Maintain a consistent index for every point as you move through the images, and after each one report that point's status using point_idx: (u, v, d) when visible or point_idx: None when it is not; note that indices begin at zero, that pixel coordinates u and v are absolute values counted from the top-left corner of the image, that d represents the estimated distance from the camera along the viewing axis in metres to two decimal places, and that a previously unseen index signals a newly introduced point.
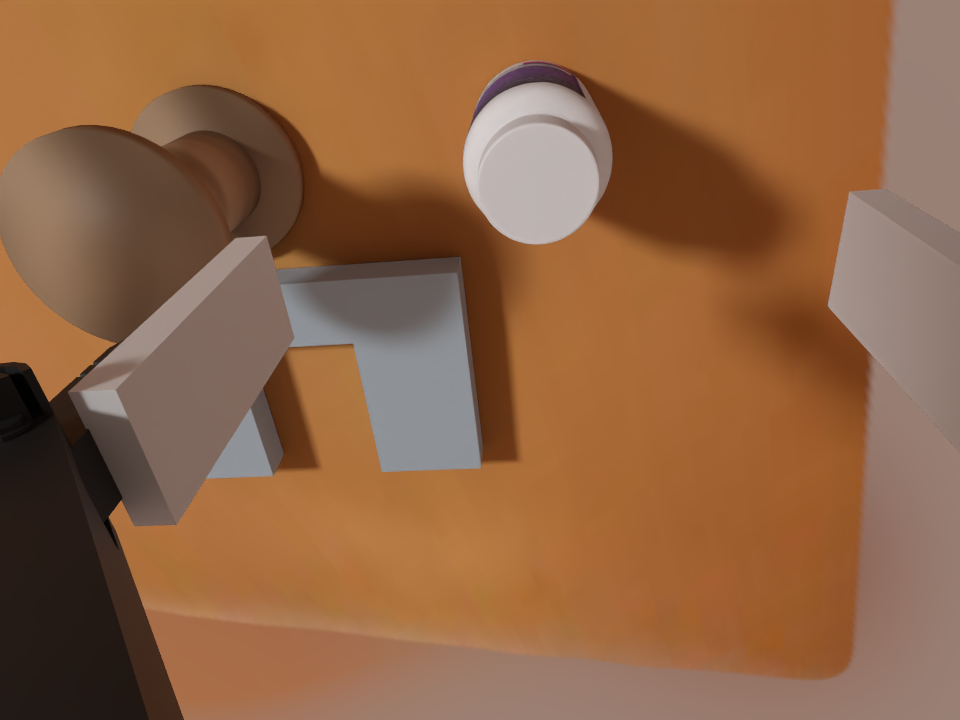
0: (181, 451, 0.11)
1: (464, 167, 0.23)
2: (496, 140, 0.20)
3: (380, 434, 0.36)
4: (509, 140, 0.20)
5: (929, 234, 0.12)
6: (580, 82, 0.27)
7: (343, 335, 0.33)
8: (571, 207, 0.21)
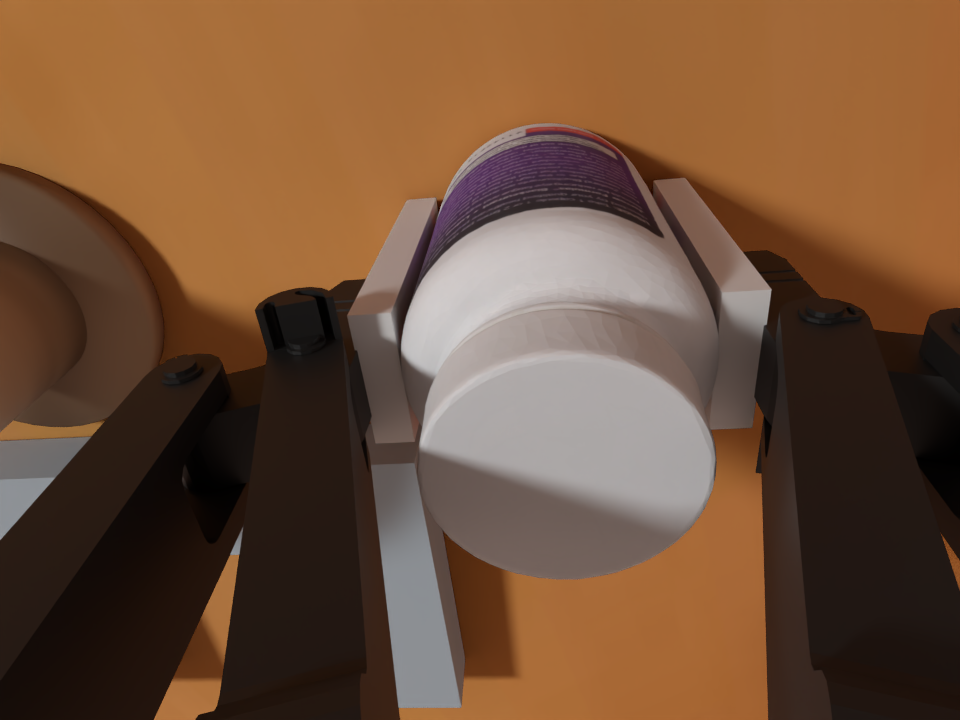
0: None
1: (403, 375, 0.11)
2: (460, 386, 0.08)
3: None
4: (493, 389, 0.08)
5: (687, 214, 0.14)
6: (632, 169, 0.14)
7: (239, 543, 0.21)
8: (642, 519, 0.09)
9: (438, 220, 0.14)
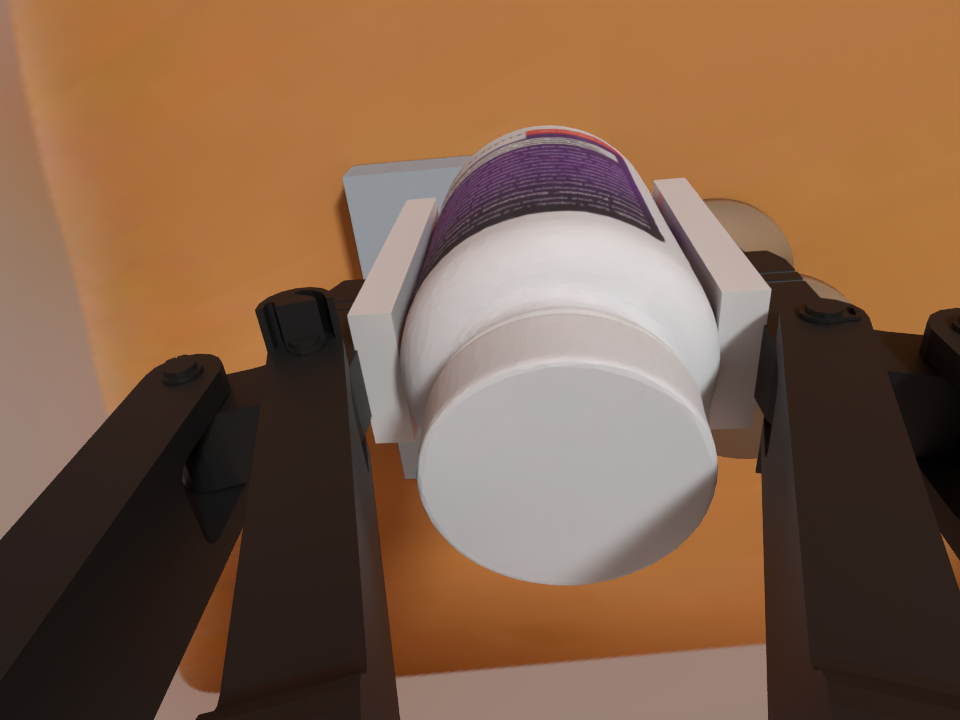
0: None
1: (402, 379, 0.11)
2: (460, 392, 0.08)
3: None
4: (494, 395, 0.08)
5: (687, 214, 0.14)
6: (633, 171, 0.14)
7: None
8: (643, 526, 0.09)
9: (438, 223, 0.14)
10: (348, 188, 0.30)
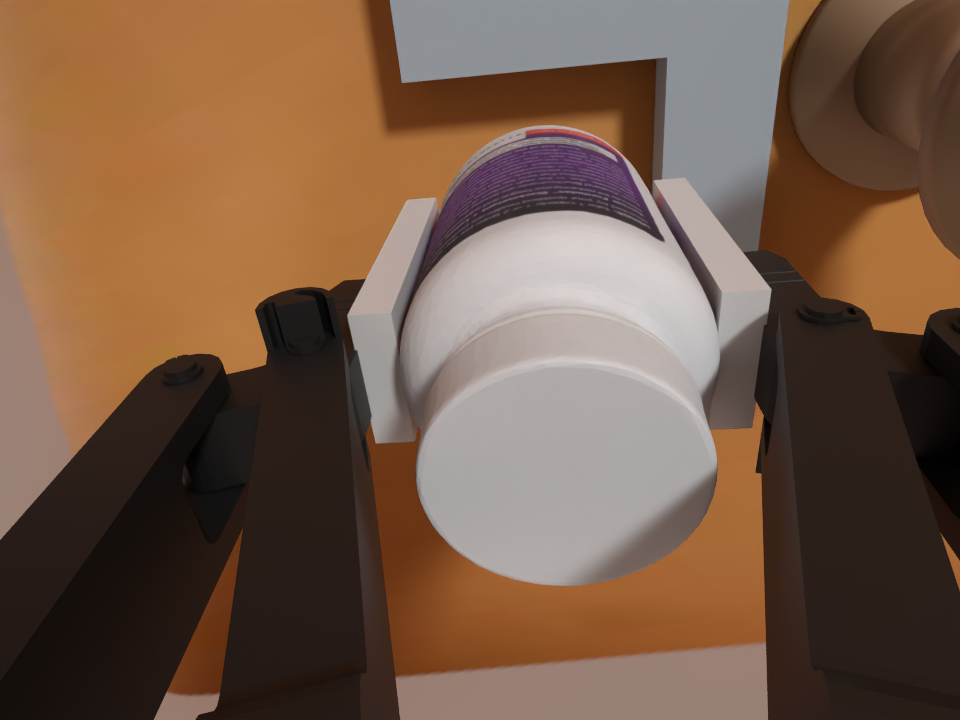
0: None
1: (402, 379, 0.11)
2: (459, 392, 0.08)
3: None
4: (492, 395, 0.08)
5: (687, 214, 0.14)
6: (633, 171, 0.14)
7: None
8: (643, 526, 0.09)
9: (437, 223, 0.14)
10: None
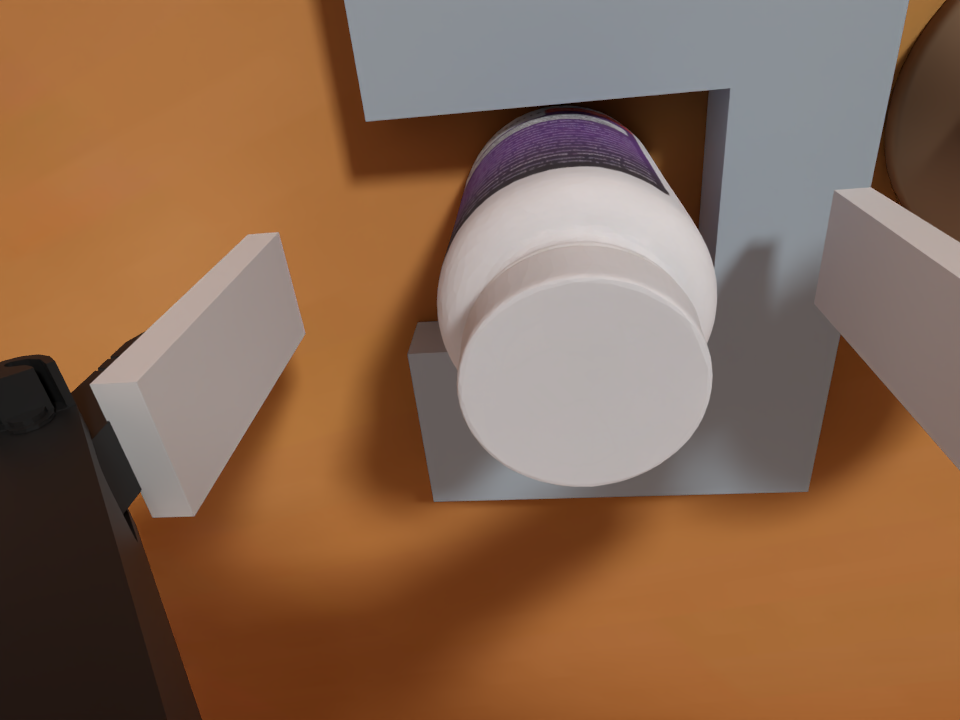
0: (198, 444, 0.11)
1: (439, 316, 0.13)
2: (497, 306, 0.10)
3: None
4: (524, 308, 0.09)
5: (909, 231, 0.12)
6: (641, 145, 0.16)
7: (727, 324, 0.18)
8: (649, 429, 0.10)
9: (466, 189, 0.15)
10: None
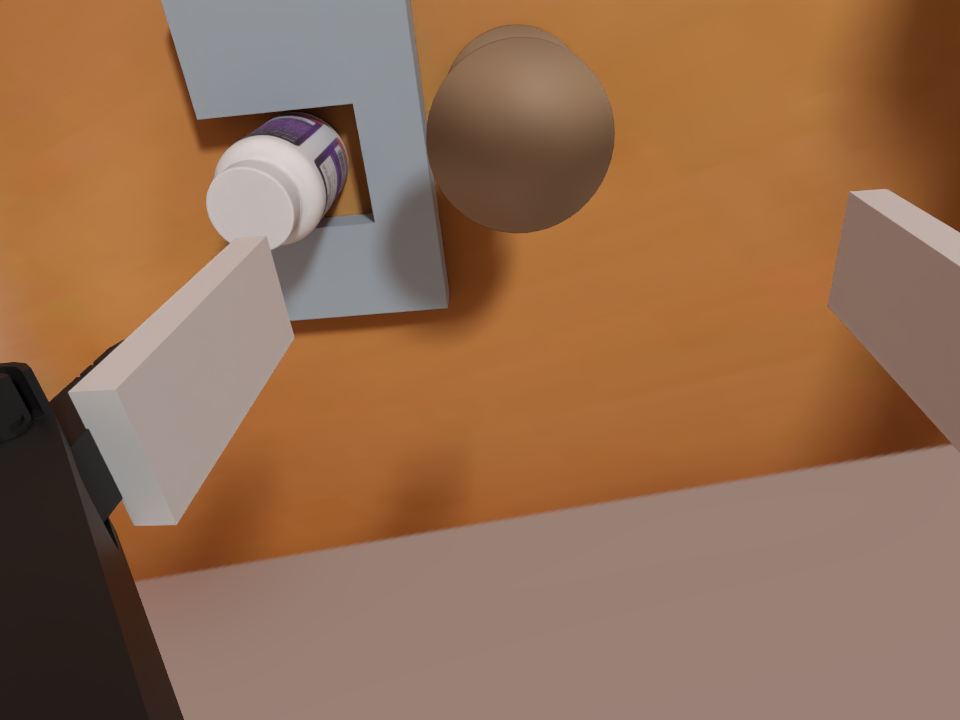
0: (181, 451, 0.11)
1: None
2: (214, 179, 0.29)
3: None
4: (222, 179, 0.29)
5: (929, 234, 0.12)
6: (323, 129, 0.35)
7: (382, 215, 0.37)
8: (276, 225, 0.30)
9: None
10: (167, 9, 0.32)
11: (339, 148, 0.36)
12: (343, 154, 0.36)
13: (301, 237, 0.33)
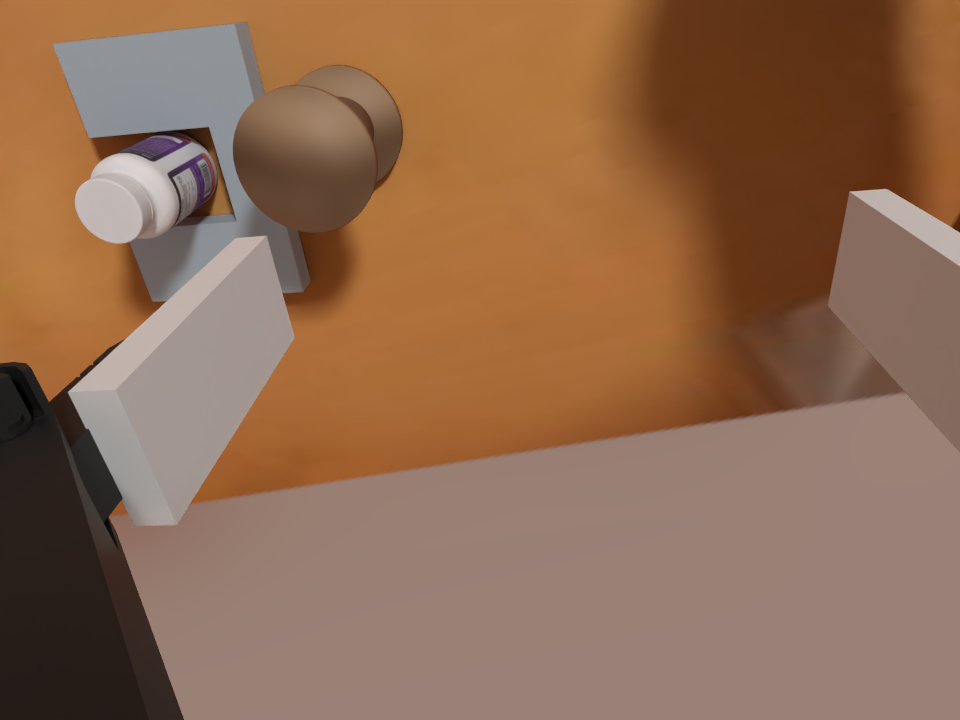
0: (181, 451, 0.11)
1: None
2: (79, 187, 0.38)
3: None
4: (85, 188, 0.38)
5: (929, 234, 0.12)
6: (189, 146, 0.44)
7: (242, 215, 0.46)
8: (130, 223, 0.39)
9: None
10: (59, 53, 0.41)
11: (204, 161, 0.45)
12: (208, 166, 0.45)
13: (160, 232, 0.42)
